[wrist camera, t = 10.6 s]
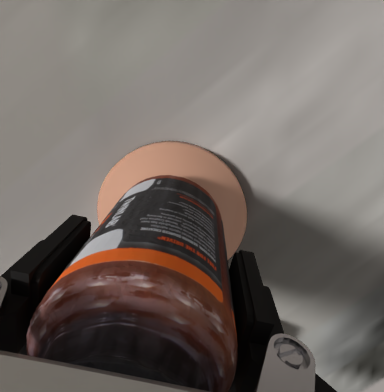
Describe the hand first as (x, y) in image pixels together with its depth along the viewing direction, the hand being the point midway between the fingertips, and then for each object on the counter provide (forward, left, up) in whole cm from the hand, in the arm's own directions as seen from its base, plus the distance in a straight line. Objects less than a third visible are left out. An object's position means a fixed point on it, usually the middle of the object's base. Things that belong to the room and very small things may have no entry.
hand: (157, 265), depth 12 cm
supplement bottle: (0, 0, -4) cm, 4 cm away
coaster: (0, 0, -6) cm, 6 cm away
